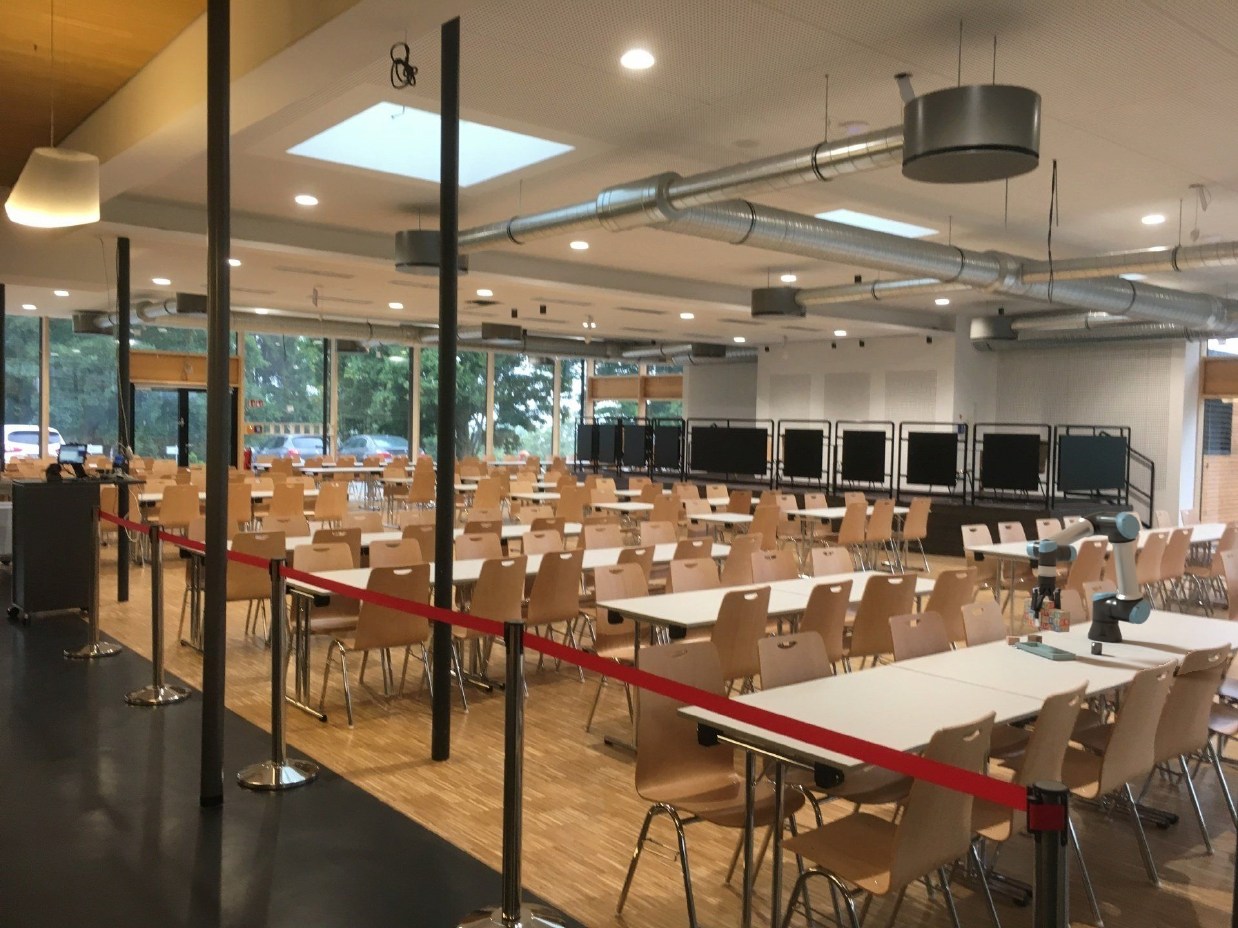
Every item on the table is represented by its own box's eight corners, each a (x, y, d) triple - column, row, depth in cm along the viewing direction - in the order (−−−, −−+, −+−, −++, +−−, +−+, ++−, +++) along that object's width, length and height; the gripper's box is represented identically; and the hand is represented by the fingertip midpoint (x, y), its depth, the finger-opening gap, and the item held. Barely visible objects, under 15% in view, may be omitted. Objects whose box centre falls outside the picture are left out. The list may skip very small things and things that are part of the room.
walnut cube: (1033, 643, 466) (1034, 634, 466) (1041, 645, 462) (1042, 636, 462) (1027, 644, 464) (1027, 635, 464) (1035, 646, 460) (1035, 636, 460)
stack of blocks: (1069, 632, 434) (1070, 604, 434) (1059, 633, 432) (1060, 605, 432) (1033, 623, 454) (1034, 597, 454) (1022, 624, 452) (1023, 597, 452)
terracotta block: (1017, 644, 463) (1017, 636, 463) (1019, 646, 459) (1019, 637, 459) (1006, 644, 464) (1006, 635, 464) (1008, 645, 460) (1008, 637, 460)
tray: (1036, 647, 458) (1037, 641, 458) (1075, 659, 432) (1075, 653, 432) (1014, 647, 455) (1015, 642, 455) (1052, 660, 429) (1052, 654, 429)
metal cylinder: (1098, 653, 448) (1098, 642, 448) (1103, 655, 443) (1104, 644, 443) (1089, 652, 447) (1089, 641, 447) (1094, 654, 443) (1095, 643, 443)
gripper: (1060, 574, 449) (1058, 623, 449) (1022, 574, 444) (1020, 624, 445) (1071, 576, 441) (1069, 627, 442) (1033, 576, 437) (1031, 627, 438)
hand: (1045, 625), depth 443 cm, fingers closed on stack of blocks, 7 cm apart
